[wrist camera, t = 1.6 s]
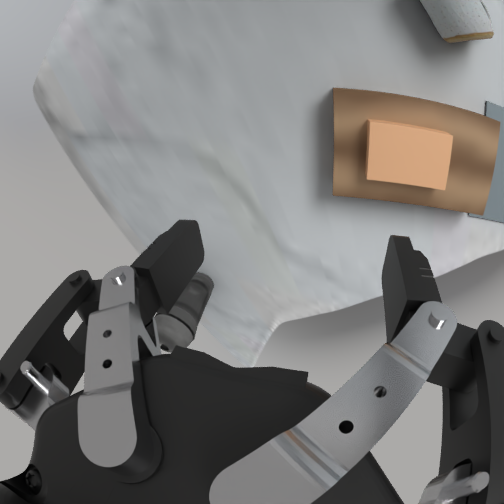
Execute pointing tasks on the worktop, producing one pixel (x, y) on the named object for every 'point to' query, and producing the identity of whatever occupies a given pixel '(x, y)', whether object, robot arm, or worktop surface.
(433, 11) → the ceramic mug
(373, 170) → the orange tan rectangular block
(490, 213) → the mat
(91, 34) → the worktop surface
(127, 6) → the worktop surface
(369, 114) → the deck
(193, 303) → the beverage cup
